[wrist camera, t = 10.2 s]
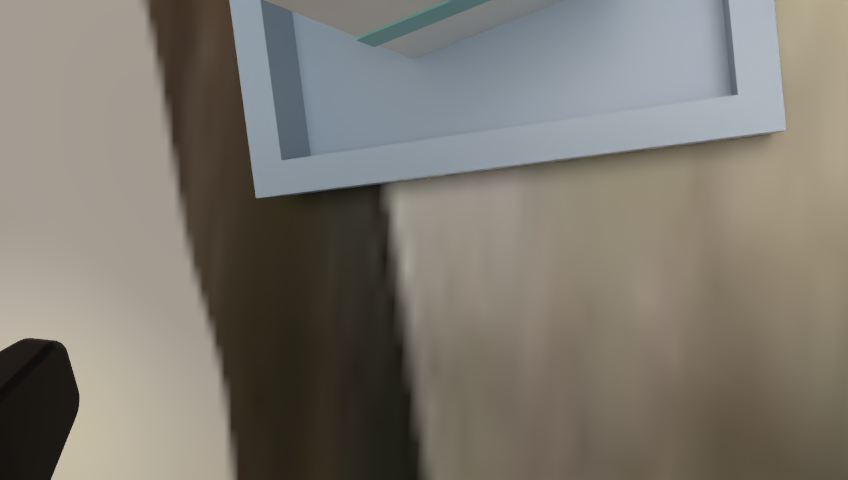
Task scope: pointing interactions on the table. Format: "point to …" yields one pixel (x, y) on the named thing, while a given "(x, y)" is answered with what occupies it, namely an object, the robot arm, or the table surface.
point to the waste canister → (412, 19)
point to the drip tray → (502, 91)
